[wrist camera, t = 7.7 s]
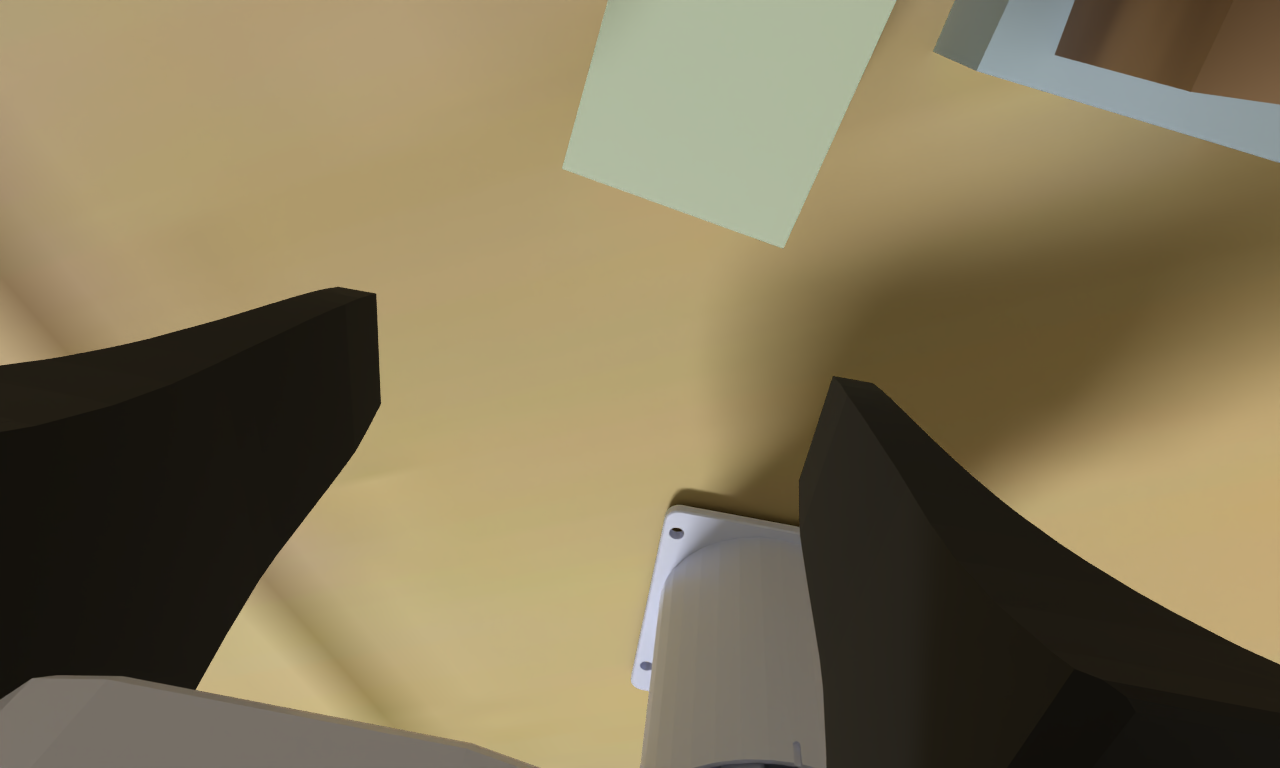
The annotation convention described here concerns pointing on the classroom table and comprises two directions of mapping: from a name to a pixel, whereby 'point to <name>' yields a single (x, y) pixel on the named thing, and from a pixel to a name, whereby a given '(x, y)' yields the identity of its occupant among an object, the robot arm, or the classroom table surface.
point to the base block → (1095, 75)
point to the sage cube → (722, 103)
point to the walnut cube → (1182, 43)
